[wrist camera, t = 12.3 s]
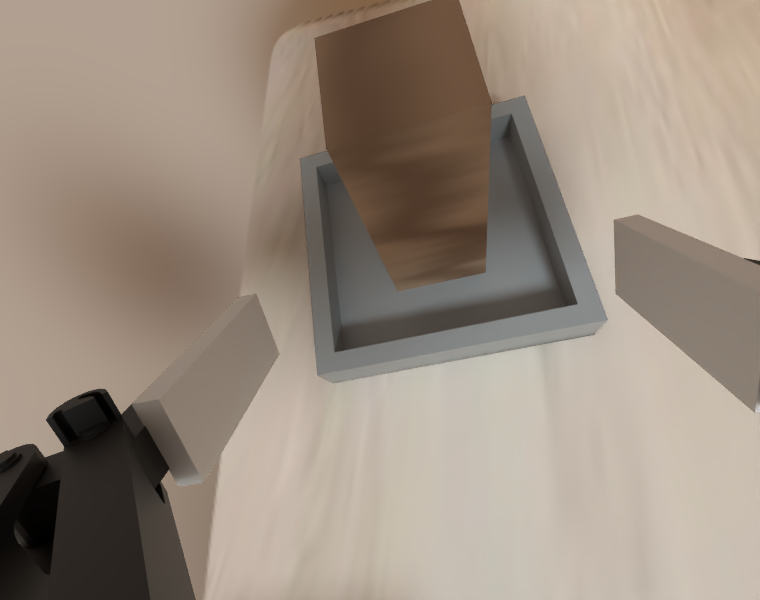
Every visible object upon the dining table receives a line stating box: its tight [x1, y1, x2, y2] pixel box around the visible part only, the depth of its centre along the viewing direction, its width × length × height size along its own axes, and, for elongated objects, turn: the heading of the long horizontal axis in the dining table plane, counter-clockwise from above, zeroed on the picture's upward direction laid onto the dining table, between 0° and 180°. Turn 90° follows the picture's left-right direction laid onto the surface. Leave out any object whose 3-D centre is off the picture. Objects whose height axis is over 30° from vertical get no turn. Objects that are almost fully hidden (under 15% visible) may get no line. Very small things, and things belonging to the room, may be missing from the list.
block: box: [315, 0, 492, 291], centre depth 19 cm, size 5×5×12 cm
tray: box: [300, 96, 608, 383], centre depth 23 cm, size 14×14×2 cm
